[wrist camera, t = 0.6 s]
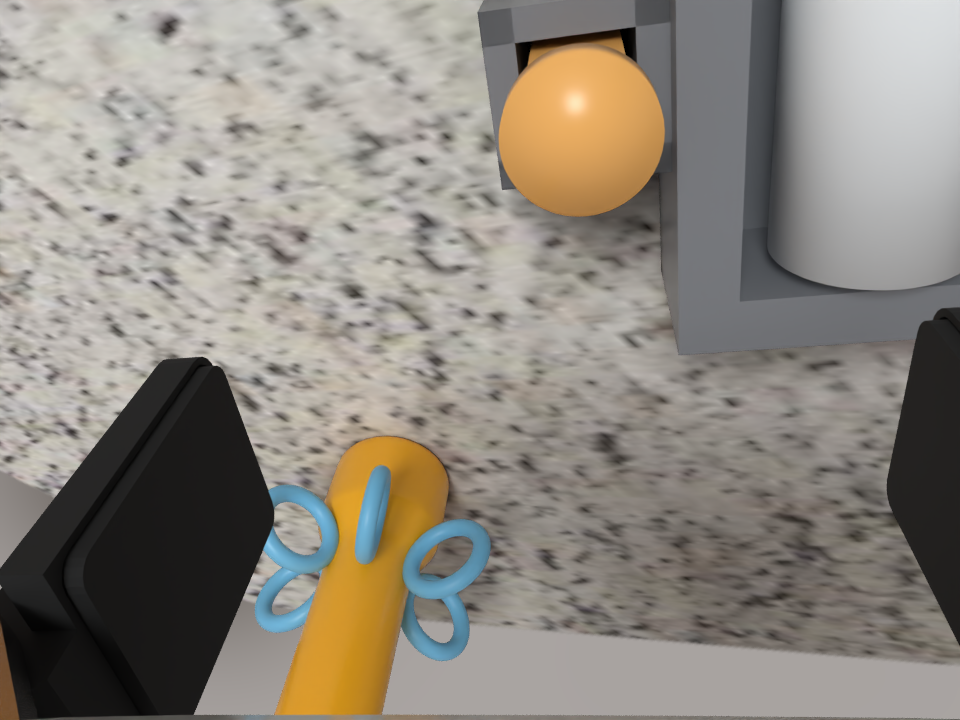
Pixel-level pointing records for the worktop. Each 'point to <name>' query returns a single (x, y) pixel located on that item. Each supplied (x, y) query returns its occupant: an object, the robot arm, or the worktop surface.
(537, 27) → the housing
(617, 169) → the plunger
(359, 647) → the ringed yellow tube
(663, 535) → the worktop surface
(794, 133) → the cartridge
